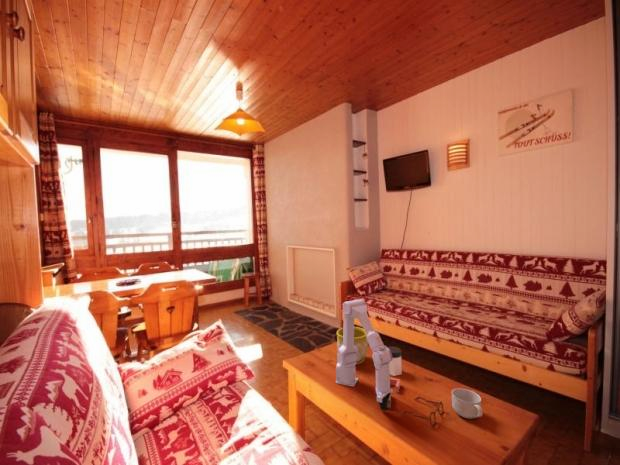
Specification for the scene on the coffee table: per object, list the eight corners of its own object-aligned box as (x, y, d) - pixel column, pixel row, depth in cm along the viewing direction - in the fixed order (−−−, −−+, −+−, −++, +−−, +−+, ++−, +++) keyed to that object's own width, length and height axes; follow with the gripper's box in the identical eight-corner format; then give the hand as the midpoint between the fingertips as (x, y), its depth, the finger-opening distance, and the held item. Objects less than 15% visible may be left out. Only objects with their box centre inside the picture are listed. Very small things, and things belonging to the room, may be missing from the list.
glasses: (432, 429, 113) (431, 416, 113) (400, 414, 122) (400, 402, 122) (444, 412, 123) (444, 400, 123) (414, 399, 132) (413, 389, 132)
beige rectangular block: (383, 407, 127) (382, 399, 127) (383, 395, 135) (383, 388, 135) (390, 408, 126) (390, 400, 126) (391, 396, 135) (390, 389, 134)
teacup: (447, 405, 127) (447, 387, 126) (472, 405, 126) (472, 387, 126) (463, 428, 113) (462, 408, 112) (492, 428, 112) (491, 407, 112)
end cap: (383, 389, 140) (383, 383, 140) (386, 382, 146) (386, 376, 146) (398, 392, 137) (398, 386, 137) (400, 385, 143) (400, 379, 143)
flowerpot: (365, 369, 159) (364, 339, 159) (333, 364, 166) (332, 336, 165) (370, 355, 176) (370, 328, 175) (341, 351, 182) (340, 325, 182)
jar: (402, 376, 151) (402, 353, 150) (386, 375, 152) (385, 353, 152) (400, 368, 159) (400, 346, 159) (385, 367, 161) (384, 345, 161)
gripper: (389, 389, 115) (389, 422, 116) (395, 371, 128) (396, 401, 129) (371, 385, 118) (372, 418, 119) (379, 368, 131) (380, 398, 132)
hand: (383, 409), depth 124 cm, fingers closed
